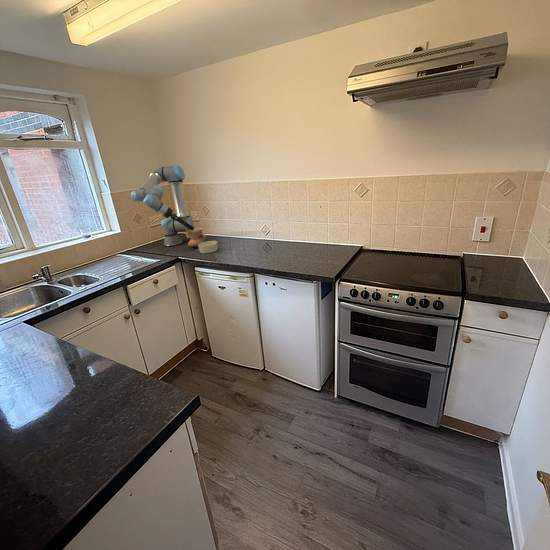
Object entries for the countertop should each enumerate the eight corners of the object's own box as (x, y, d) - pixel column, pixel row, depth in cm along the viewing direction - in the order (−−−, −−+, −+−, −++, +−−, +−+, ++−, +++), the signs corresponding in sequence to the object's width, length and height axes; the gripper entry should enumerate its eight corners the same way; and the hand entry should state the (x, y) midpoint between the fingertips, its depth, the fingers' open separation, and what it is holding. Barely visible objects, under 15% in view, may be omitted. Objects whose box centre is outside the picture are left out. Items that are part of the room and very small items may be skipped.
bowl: (203, 248, 240) (202, 241, 238) (221, 247, 237) (219, 240, 235) (196, 254, 226) (195, 246, 224) (214, 253, 224) (213, 245, 222)
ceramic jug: (184, 248, 246) (180, 232, 241) (195, 243, 258) (192, 227, 253) (201, 249, 238) (198, 232, 233) (212, 244, 250) (209, 227, 245)
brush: (188, 236, 231) (182, 215, 225) (194, 235, 230) (188, 214, 224) (185, 238, 226) (179, 217, 220) (192, 237, 225) (185, 216, 219)
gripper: (160, 214, 220) (187, 231, 234) (164, 216, 207) (193, 234, 221) (165, 205, 221) (192, 223, 234) (170, 207, 208) (198, 226, 221)
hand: (192, 228), depth 228 cm, fingers closed on brush, 3 cm apart
